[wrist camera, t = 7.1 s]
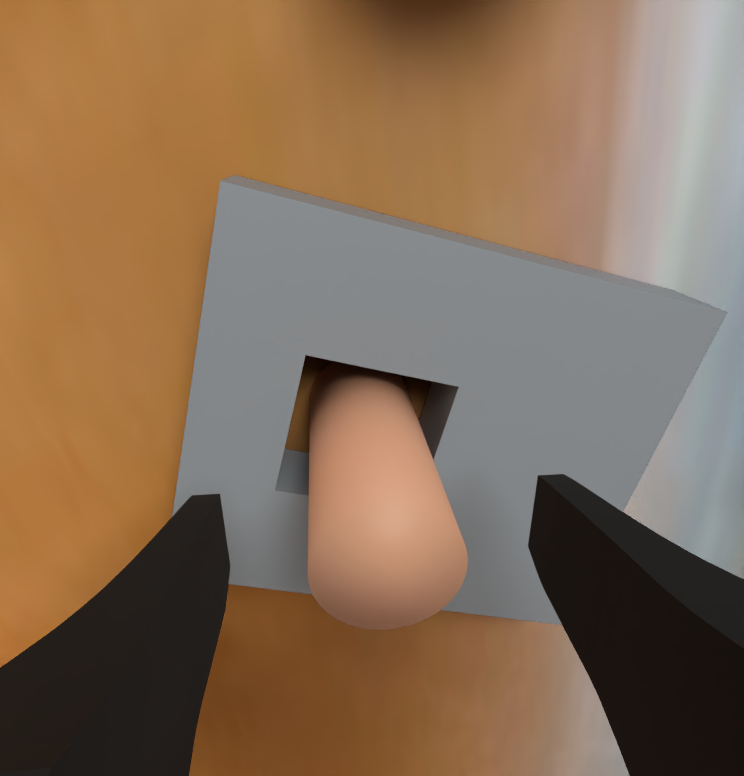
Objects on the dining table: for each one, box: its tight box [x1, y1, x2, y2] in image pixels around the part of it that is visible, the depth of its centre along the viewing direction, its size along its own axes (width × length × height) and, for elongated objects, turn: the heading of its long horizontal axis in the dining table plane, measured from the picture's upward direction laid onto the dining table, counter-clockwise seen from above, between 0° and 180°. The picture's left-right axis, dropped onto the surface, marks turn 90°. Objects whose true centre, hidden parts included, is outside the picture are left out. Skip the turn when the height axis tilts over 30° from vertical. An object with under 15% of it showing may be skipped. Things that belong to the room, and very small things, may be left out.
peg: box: [308, 361, 468, 630], centre depth 15 cm, size 3×3×8 cm
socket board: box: [172, 175, 727, 625], centre depth 17 cm, size 14×12×2 cm
